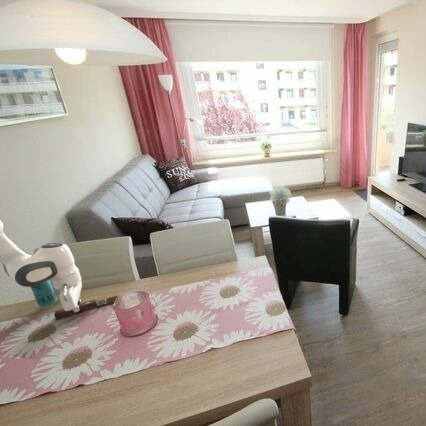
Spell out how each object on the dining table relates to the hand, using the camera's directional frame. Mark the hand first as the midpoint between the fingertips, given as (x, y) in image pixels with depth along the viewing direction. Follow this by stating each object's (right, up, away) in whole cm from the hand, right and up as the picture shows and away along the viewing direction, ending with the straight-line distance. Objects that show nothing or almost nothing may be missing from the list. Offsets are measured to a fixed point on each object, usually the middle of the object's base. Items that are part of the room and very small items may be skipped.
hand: (78, 307), depth 123 cm
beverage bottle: (-18, -1, +6) cm, 19 cm away
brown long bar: (+3, -1, +2) cm, 4 cm away
